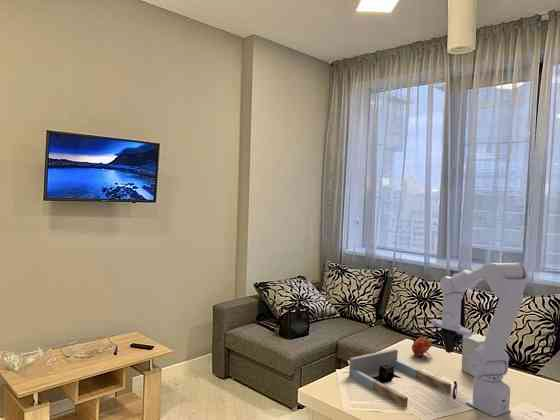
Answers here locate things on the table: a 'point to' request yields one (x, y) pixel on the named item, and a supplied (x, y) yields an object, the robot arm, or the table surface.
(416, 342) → the pomegranate
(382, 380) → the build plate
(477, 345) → the supplement box
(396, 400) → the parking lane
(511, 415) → the table surface
